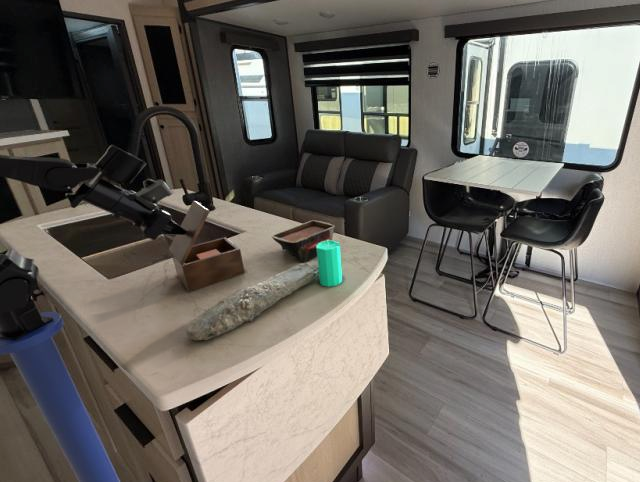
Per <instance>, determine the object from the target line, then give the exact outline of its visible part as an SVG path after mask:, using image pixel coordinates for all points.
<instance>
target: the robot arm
mask: <svg viewBox="0 0 640 482" xmlns="http://www.w3.org/2000/svg"><path fill="white" fill-rule="evenodd" d="M147 164H148V163H147V162H145V161H144V160H142V159H141V158H139V157H137V156H136V155H134V154H132V153H130V152H126V151H124V150H123V149H121V148H119V147H117V146H116V145H114V144H110V145H109V147H108V148H107V149H106V151H105V153H104V154H103V155H102V156H101V157H100V158H99V159H98V161H96V163H93V162H92V163H91V162H86V163H85V162H73V161H71V160H69V159H66V158H61V157H46V156H43V157H42V156H14V155H13V156H11V155H5V154H0V178H6V179H10V180H13V181H17V182H20V183H21V182H22V183H25V184H27V185H31V186H34V187H38V188H43V189H47V190H51V191H55V192H66V193H65V197H66V198H67V200H68V201H69V204H70V207H71V209H75V208H77V207H78V206H79V205H80V204H81V202H84V203H87V204H88V205H91V206H93V207H96V208H98V209H100V210H103V211H105V212H107V213H110V214H111V215H112V216H113V217H114V218H117V219H119V218H121V219H123V220H125V221H128V222H130V223H132V224H133V226H135V227H138V228H140V231H141V233H142V235H143V236H144V237H145V238H148V239H150V240H152V241H155V240H157V238H158V237H159V236H160V235H175V236H176V235H185V234H186V232H187V231H186V230H185V229H183V228H182V227H181V225H179V224H178V223H176V221H174V220H173V215H172V214H170V213H169V211H168V210H167V209H166V208H165V207H164V206H161V207H160V208H157V207H158V204H159V202H160V201H161V200H163V199H164V198H165V199H166V197H170V196H172V195H173V194H174V191H173V190H172V189H171V188H170V187H169V186H168V184H167V183H166V182H165V181H164V180H162V179H157V180H153V179H151V178H147V179H145V180H143V181H142V184H143V187H142V188H141V189H140V190H139V191H137V192H136V191H134V190H126V189H124V188H123V187H120V186H118V185H125V184H126V183H127V184H131V183H132V182H133V181H134V180H135V178H136V177H138V175H139V174H140V172H141V171H142V170H143V169H144V167H146V165H147ZM103 177H104V178H106V179H108V180H110V181H112V182H114V183H112V182H110V181H108V180H106V179H104V178H103ZM91 179H92V180H91ZM89 180H91V181H90V182H87V181H89ZM81 182H82V183H81ZM80 183H81V184H80ZM79 184H80V185H79ZM116 184H118V185H116ZM78 185H79V186H78ZM76 187H77V188H76ZM75 188H76V190H75V191H74V192H73V191H72V192H68V191H71V190H73V189H75ZM39 270H40V269H39V267H38V265H36V264H35V259H34V258H30V257H29V258H28V257H25V256H23V255H22V254H20V253H19V252H17V251H16V250H15V249H13V248H10V249H8V251H7V252H5V253H0V339H6V340H18V339H20V338H22V337H23V336H25V335H27V334H29V333H31V332H33V331H34V330H36V329H38V328H40V327H42V326H44V325H45V324H47V323H49V322H51V321H53V320H54V319H53V318H52V317H44V316H41V314H40V313H41V312H40V310H39V308H38V307H37V304H36V301H35V299H34V298H33V296H32V294H33V293H34V292H35V291H36V290H37V288H38V286H39V278H40V271H39Z"/></svg>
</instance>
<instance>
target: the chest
mask: <svg viewBox="0 0 640 482" xmlns="http://www.w3.org/2000/svg"><path fill="white" fill-rule="evenodd" d="M214 249H216V250H217V251H219V252H220V253H221V254H217V255H214V256H211V257H207V258H204V259H200V260H197V257H196V255H197V254H200V253H204V252H207V251H211V250H214ZM170 254H171V257H172V261H173V264H174V268H175V273H176V275H177V277H178V279H179V280H180V281H181V283H182V284H183V285H184V287H185V288H186V291H188V292H189V293H190V292H193V291H195V290H199V289H201V288H204V287H207V286H210V285H212V284H216V283H218V282H221V281H224V280H228V279H231V278H232V277H236V276H239V275H241V274H245V267H244V261H243V257H242V252H241V248H239V247H238V246H237V245H236V244H235V243H233V242H232V241H231V240H230V239H228V238H227V237H226V236H223V237H221V238H220V237H219V238H217V239H213V240H209V241H205V242H201V243H197V244H193V246H192V248H191V250H190V252H189V254H188V256H187V258H186V260H185V262H184V264H183V265H182V264H179V262H178V261H177V260H176V258H175V257H174V256H173V254H172V253H171V252H170Z"/></svg>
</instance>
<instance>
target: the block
mask: <svg viewBox="0 0 640 482" xmlns="http://www.w3.org/2000/svg"><path fill="white" fill-rule="evenodd" d="M217 254H221V253H220V252H219V251H217V250H216V249H214V250H211V251H207V252H204V253H200V254H197V255H196V257H197V260H200V259H204V258H207V257H211V256H214V255H217Z"/></svg>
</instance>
